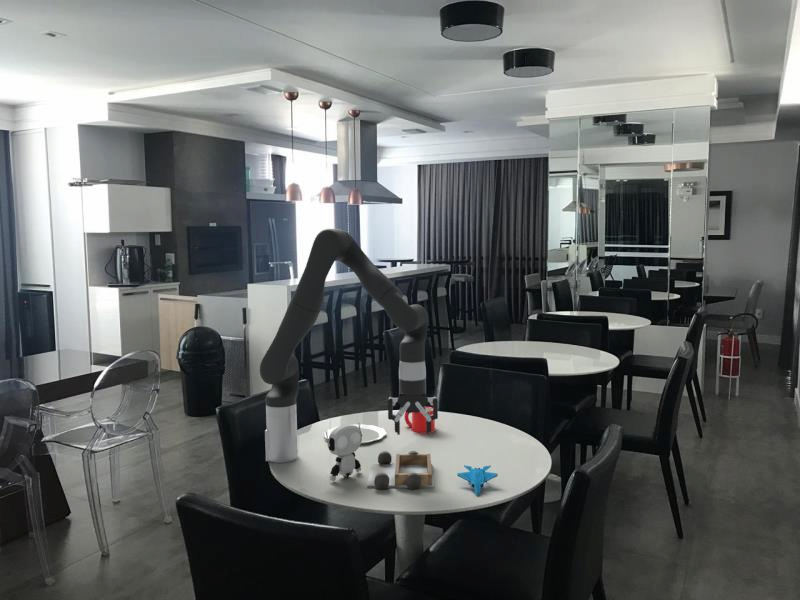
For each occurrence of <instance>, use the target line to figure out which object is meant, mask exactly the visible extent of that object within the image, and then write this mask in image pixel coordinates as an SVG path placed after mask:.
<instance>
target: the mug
mask: <svg viewBox="0 0 800 600" xmlns="http://www.w3.org/2000/svg"><path fill="white" fill-rule="evenodd" d="M424 407H425V408H426V410H427V411H428V413H429V414H430V415H432V414H433V407H432V406H424ZM409 415H410V413H407V412H405V413H404V415H403V416H404V421H405V423H406V425H407V426H408V427H409V428H411V430H412V431H413V432H414V433H416V434H417V433H418V434H426V420H427V419H426V418H425V417H424V416H423V414H422V413H421V412H418V413H414V412H412V413H411V421H410V418H409ZM435 421H436V419H434V420H432V421H431V432H429V434H430V433H432V432H435V430H436V422H435Z"/></svg>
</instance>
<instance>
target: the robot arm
mask: <svg viewBox="0 0 800 600" xmlns="http://www.w3.org/2000/svg"><path fill="white" fill-rule="evenodd" d="M337 261H338V262H340V263H342V264H344V266H346V267H348V268H349V269H350V270H351V271H352V272H353V273H354V274H355V275H356V277H357V278H358V280H359V281H360V283H361V286H362V287H363V289H364V290H365V291H366V292H367V294H368V295H369V296H370V297H371V298H372V299H373V300H374V301H375V302H376V303H377V304H378V305H379V306H380V307H382V308H383V309H384V311H385V312H386V315H387V316H388V318H390V320H391V322H392V323H393V325H394V326H395V327H396V328H397V329H399V330H400V331H402V332H404V336H403V339H402V340H401V341H400V343H399V364H398V365H399V366H398V383H399V384H398V396H397V397H393V396H389V397H388V401H387V418H388V420H392V421H393V422H394V432H395V433H396V434H397V435H399V436H400V434H401V421H400V419H401V418H402V417H403V416H404V415H405V412H407V413H409V414H412V412H414V413H418V412H421V413H422V414H423V416H424V417H425V418H426V419H427V420H426V433H425V434H426V435H430V433H432V432H431V421H432V420H434V419H435V420H438V417H439V414H438V411H439V410H438V406H439V405H438V397H437V396H433V397H432V396H431V397H428V395H427V368H426V359H425V358H426V354H425V353H426V350H425V348H426V347H425V345H426V344H425V343H426V340H427V334H428V327H429V315H428V312H427V310H426V308H425V307H423V306H422V305H421V304H417V303H415V304H411V305H410V304H408V303H407V302H406V301H405V300H404V298H403V296H404V295H403V294H404V293H403V292H402V291H401V289H400V288H399V287H398V286H397V285H396V284H395V283H394V282H393V281H392V280H391V279H389V278H388V277H387V276H386V275H385V273H383V272H382V271H381V270H380V269H379V268H378V267H377V266H376V265H375V264H374V263H373V262H372V260H371V259H370V258H369V257H368V256H367V254H365V252H364V251H363V250H362V248H361V246H359V244H358V243H357V242H356V240H355V238H353V236H352V235H351V234H350V233H349V232H348V231H346V230H344V229H342V228H341V229H340V228H325V229H323V230H321V231H319V232H318V234H316V237H315V238H314V240H313V243H312V245H311V248H310V253H309V255H308V258H307V262H306V265H305V268H304V270H303V273H302V274H301V276H300V279H299V281H298V284H297V287H296V288H295V291H294V293H293V294H292V297H291V299H290V301H289V303H288V306H287V308H286V311H285V313H284V315H283V317H282V320H281V323H279V324H280V325H279V327H278V329H277V332H276V334H275V335H274V336H275V337H273V340H272V342H271V344H270V345H269V347H268V349H267V350H266V352H265V354H264V356H263V357H262V358H261V361H260V364H259V374H260V379H261V380H263V382H264V383H265V384H268V385H271V387H270V390H269V391H268V392H267V394H266V395H265V415H266V416H265V420H266V421H265V423H266V429H265V430H264V442H265V445H264V446H265V448H264V449H265V462H271V463H276V464H278V463H280V464H283V463H290V462H292V461H295V460H297V459H298V458H297V457H299V455H298V452H299V451H298V450H299V449H298V421H297V416H298V415H297V413H298V412H297V398H298V395H299V386H300V385H299V384H300V381H299V379H300V370H299V369H300V368H299V362H298V361H299V360H298V359H297V357H296V356H295V354H294V351H295V350H296V348H297V346H298V345H299V344H300V342H301V341H302V340H304V338H305V337H306V336H307V334H308V333H309V332H310V331H311V329H312V328H313V327H314V325H315V323H316V322H317V320H318V318H319V316H320V313H321V311H322V308H323V305H324V301H325V287H326V286H325V285H326V280H327V277H328V275H329V272H330V271H331V268H332V267H333V265H334V263H335V262H337ZM396 403H398V405H400V408H399V410H398V412H397V413H396V414H394V413H393V409H394V407H395V406H396ZM428 403H429V404H430V406H432V408H433V414H432V415H430V414H429V413H428V411H427V410H426V408H425V407H426V405H427V404H428ZM429 432H430V433H429ZM296 458H297V459H296Z"/></svg>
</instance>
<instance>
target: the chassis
mask: <svg viewBox="0 0 800 600" xmlns="http://www.w3.org/2000/svg"><path fill="white" fill-rule="evenodd" d="M392 458H393V457H392V454H391V452H389V451H387V450H383V451H380V452H379V453H378V456H377V462H378V463H371V464H370V470H369V473H368V474H369V475H368V480H367V485H366V486H367V487H366V488H370V489H374V488H376V489H377V490H380V491H382V490H386V489H387V488H388V489H389V488H391V489H393V488H395V489H396V488H400V489H401V488H402V489H403V488H405V489H406V488H408V489H409V490H412V491H415V490H417V489H419V488H422V489H423V488H427V489H428V488H435V482H434V469H433V463H432V460H431V458H432V457H431V453H419V452H418V451H416V450H411V451H409V452H408V453H396V456H395V463H392Z"/></svg>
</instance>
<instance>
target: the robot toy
mask: <svg viewBox="0 0 800 600" xmlns="http://www.w3.org/2000/svg"><path fill="white" fill-rule="evenodd" d="M357 424H358V425H359V427H357V426H354V425H355V424H341V425H339V426H340V427H339V426H336V427H337V428H336V429H334V430H333V431H332V432H331V434H330V436H329V439H328V435H327V431H328V430H326V431H325V432H326V436H327V439H326V441H327V447H328V451H330V453H331V454H333V455H335V456H336V457H335V459H334V460H335V462H336V463H335V464H334V465H333V466H332V467H331V470H330V475H331V476H329V477H330V478H329V480H330V482H331V481H332V482H335V481H336V479H337V477H338V476H339V475H341V476H342V477H343V478H349V477H350V476H351V475H352V474H353V473H354V470H355V472H356V473H360V472H361V471H362V465H361V463H360V461H359V460H358V459H357V458H356V453H355V452H356V451H357V450H359V448H360V447H361V445H362V444H361V442H363V439H362V438H363V434H362V429H360V421H358V423H357Z"/></svg>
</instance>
